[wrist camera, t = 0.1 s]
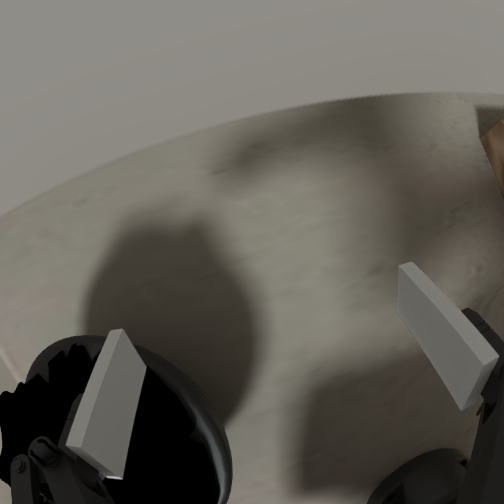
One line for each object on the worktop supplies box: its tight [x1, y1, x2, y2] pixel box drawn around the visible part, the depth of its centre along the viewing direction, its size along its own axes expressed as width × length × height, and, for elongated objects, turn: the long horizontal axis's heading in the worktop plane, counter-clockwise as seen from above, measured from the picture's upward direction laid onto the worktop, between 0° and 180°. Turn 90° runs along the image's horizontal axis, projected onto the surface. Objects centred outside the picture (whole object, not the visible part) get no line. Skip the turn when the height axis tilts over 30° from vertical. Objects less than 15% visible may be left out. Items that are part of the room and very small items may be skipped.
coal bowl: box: [0, 335, 233, 504], centre depth 18 cm, size 20×20×19 cm
